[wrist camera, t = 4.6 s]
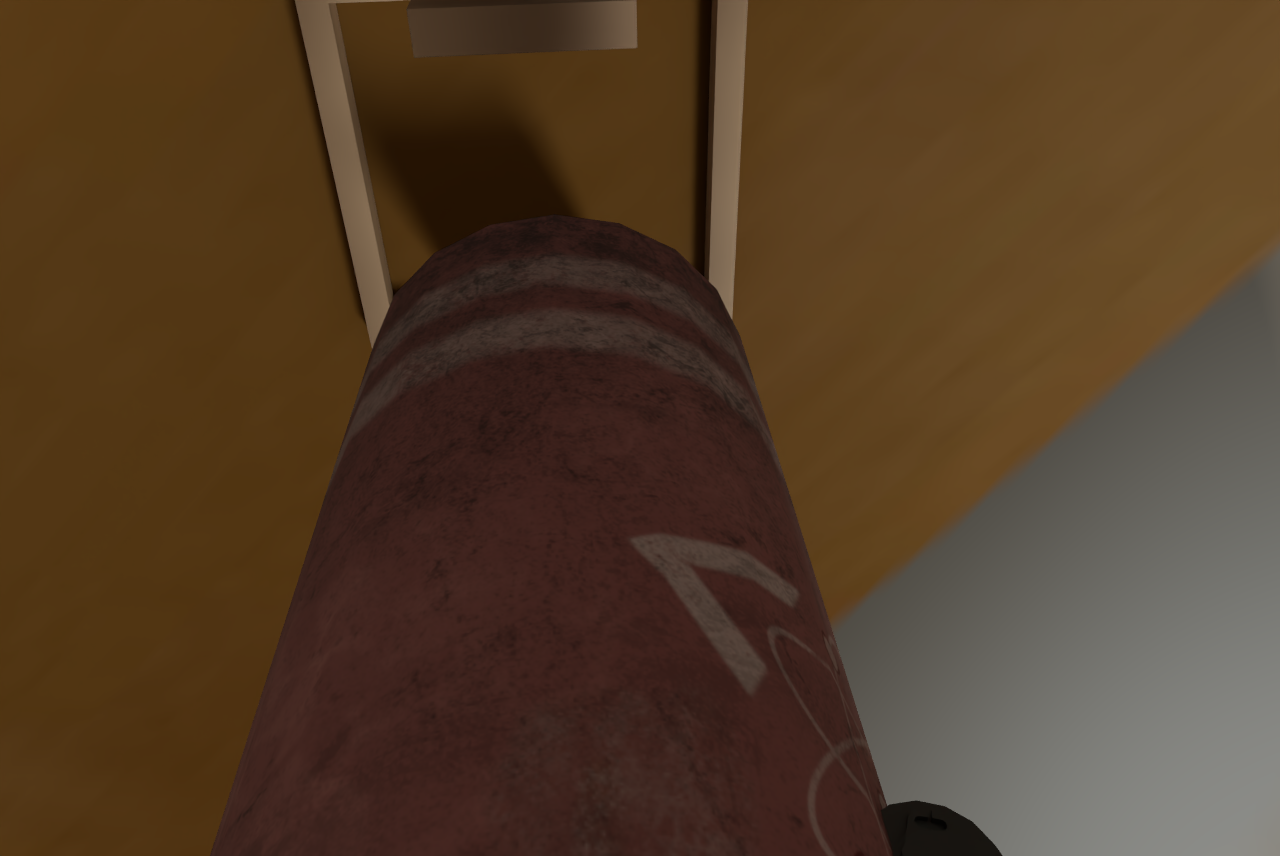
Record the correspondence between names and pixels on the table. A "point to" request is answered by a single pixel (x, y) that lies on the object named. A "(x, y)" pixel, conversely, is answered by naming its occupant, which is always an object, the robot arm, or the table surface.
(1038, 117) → the table surface
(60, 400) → the table surface
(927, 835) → the robot arm
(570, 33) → the caddy
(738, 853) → the can
